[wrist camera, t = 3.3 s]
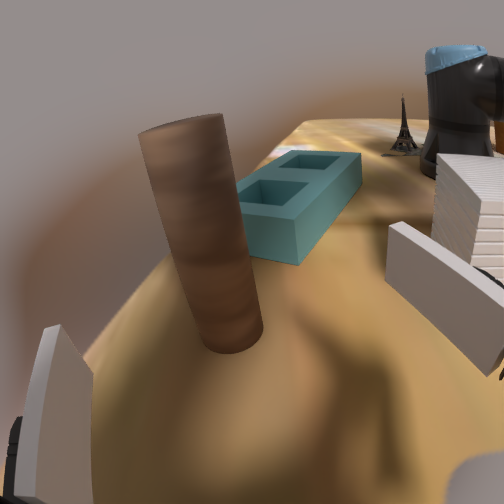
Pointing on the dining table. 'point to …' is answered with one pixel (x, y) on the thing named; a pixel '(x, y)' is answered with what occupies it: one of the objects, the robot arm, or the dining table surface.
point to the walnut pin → (205, 228)
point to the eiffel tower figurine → (405, 138)
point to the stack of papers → (471, 210)
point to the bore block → (296, 201)
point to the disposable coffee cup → (499, 136)
